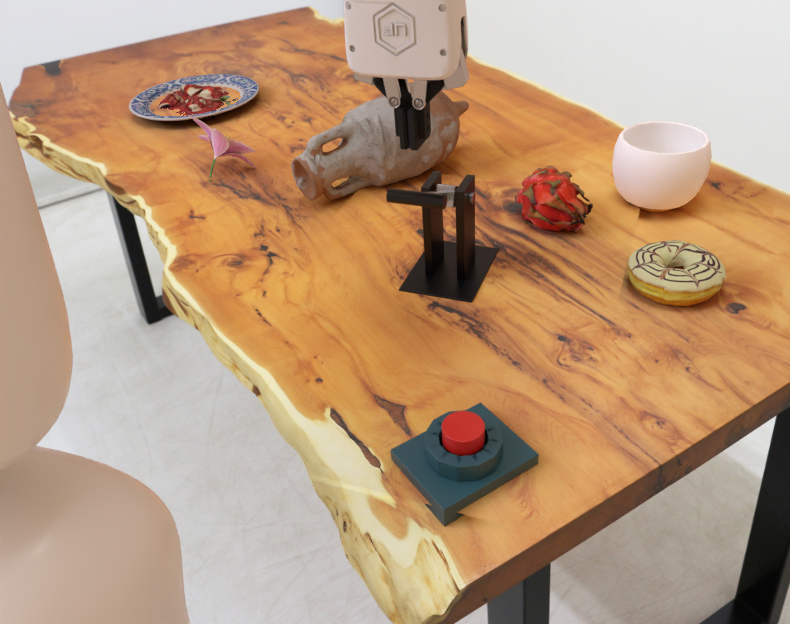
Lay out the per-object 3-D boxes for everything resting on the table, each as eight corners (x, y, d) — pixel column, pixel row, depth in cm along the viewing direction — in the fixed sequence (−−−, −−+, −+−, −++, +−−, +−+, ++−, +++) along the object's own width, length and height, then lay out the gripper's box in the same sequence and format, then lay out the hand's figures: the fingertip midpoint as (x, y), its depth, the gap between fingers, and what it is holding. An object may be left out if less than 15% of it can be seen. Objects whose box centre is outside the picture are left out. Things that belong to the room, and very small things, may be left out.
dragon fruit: (527, 214, 102) (577, 263, 94) (489, 197, 96) (538, 247, 88) (564, 164, 99) (619, 211, 91) (526, 144, 93) (581, 191, 85)
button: (459, 462, 59) (458, 448, 58) (433, 437, 61) (433, 422, 60) (493, 443, 60) (493, 429, 59) (467, 419, 63) (467, 404, 62)
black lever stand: (472, 309, 82) (471, 210, 74) (399, 297, 85) (391, 200, 77) (498, 256, 91) (500, 162, 83) (431, 246, 94) (427, 155, 86)
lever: (441, 214, 70) (444, 189, 69) (385, 207, 72) (387, 183, 71) (475, 208, 82) (478, 187, 81) (426, 202, 84) (428, 182, 83)
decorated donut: (734, 276, 83) (741, 249, 81) (702, 323, 77) (709, 294, 75) (647, 252, 89) (652, 225, 87) (611, 293, 82) (615, 266, 80)
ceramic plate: (104, 120, 141) (99, 105, 139) (193, 79, 159) (190, 65, 157) (201, 138, 130) (198, 122, 128) (286, 91, 147) (283, 77, 146)
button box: (444, 527, 58) (443, 495, 56) (391, 466, 64) (388, 435, 61) (537, 471, 62) (540, 439, 60) (480, 418, 68) (480, 387, 65)
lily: (262, 190, 113) (271, 129, 111) (186, 178, 108) (194, 113, 106) (244, 185, 123) (251, 129, 122) (174, 174, 118) (181, 115, 117)
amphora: (497, 81, 106) (313, 90, 91) (492, 188, 112) (319, 213, 97) (444, 77, 117) (272, 84, 103) (442, 175, 123) (280, 195, 108)
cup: (637, 175, 106) (646, 112, 100) (717, 199, 98) (732, 132, 93) (590, 206, 99) (596, 140, 94) (672, 234, 92) (685, 165, 86)
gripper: (297, -62, 57) (326, 153, 68) (478, -64, 52) (479, 169, 63) (336, -78, 62) (358, 123, 73) (504, -82, 57) (500, 135, 68)
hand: (414, 144), depth 68 cm, fingers closed
